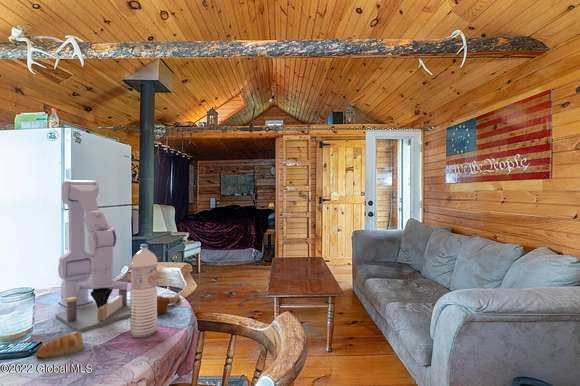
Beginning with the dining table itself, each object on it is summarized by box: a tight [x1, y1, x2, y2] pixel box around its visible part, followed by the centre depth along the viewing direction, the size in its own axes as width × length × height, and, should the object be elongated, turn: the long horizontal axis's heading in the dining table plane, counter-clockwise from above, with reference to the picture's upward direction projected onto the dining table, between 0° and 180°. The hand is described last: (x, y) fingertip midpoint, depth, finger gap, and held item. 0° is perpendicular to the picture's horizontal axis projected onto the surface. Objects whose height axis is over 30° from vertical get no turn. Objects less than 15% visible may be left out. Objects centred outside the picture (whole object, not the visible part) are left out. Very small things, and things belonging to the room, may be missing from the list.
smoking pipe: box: [157, 294, 180, 316], centre depth 111 cm, size 7×18×6 cm, turn 1°
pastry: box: [36, 331, 84, 359], centre depth 80 cm, size 9×7×4 cm
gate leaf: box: [98, 294, 122, 321], centre depth 101 cm, size 12×2×4 cm, turn 2°
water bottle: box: [129, 243, 158, 339], centre depth 90 cm, size 7×7×25 cm
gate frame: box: [55, 287, 131, 333], centre depth 103 cm, size 18×19×8 cm
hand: (102, 312), depth 99 cm, fingers closed
